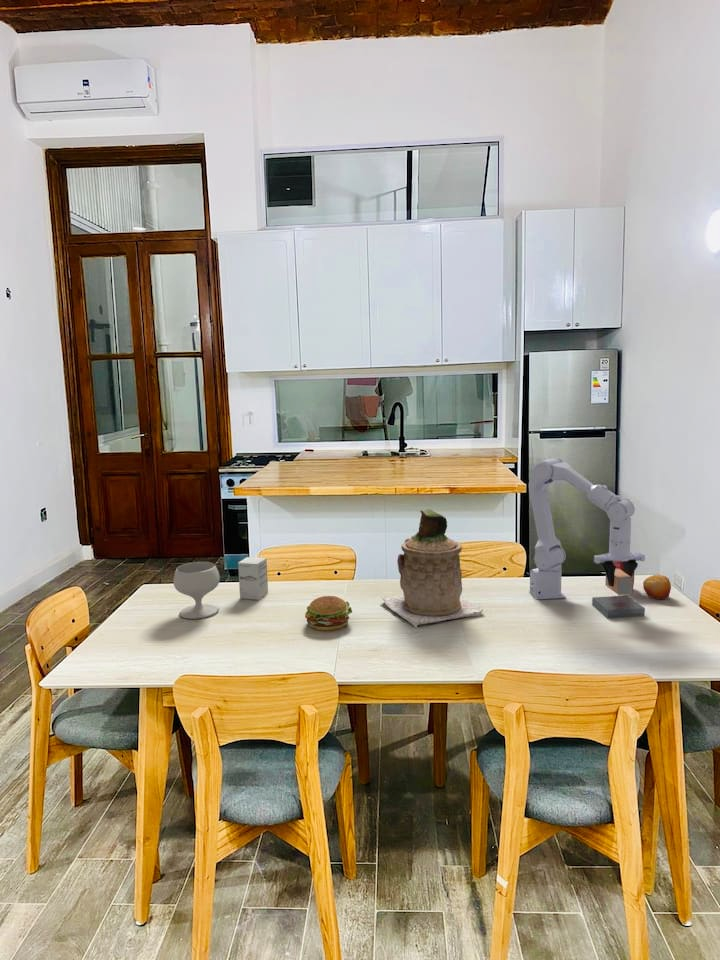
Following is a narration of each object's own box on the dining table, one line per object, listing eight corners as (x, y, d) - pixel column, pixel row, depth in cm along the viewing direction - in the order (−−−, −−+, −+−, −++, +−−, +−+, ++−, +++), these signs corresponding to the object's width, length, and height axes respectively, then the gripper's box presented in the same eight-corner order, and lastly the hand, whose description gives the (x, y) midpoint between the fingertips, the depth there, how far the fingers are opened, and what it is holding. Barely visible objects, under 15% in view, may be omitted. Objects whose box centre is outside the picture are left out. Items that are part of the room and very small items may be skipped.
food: (348, 634, 186) (347, 607, 185) (300, 631, 189) (299, 605, 187) (358, 616, 199) (357, 591, 198) (313, 614, 202) (312, 589, 201)
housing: (605, 585, 199) (605, 569, 198) (618, 584, 199) (618, 568, 199) (618, 595, 191) (619, 578, 190) (631, 594, 191) (632, 577, 190)
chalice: (195, 624, 197) (192, 576, 194) (167, 615, 205) (163, 569, 203) (231, 610, 208) (228, 564, 205) (202, 602, 216) (199, 558, 214)
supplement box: (239, 599, 218) (236, 562, 216) (249, 591, 225) (247, 556, 223) (259, 600, 216) (257, 563, 214) (269, 593, 223) (267, 557, 221)
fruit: (681, 593, 205) (672, 574, 202) (664, 609, 203) (655, 590, 200) (661, 586, 212) (652, 567, 209) (644, 601, 210) (635, 582, 208)
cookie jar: (486, 615, 196) (486, 510, 191) (413, 629, 187) (410, 520, 182) (445, 591, 219) (444, 497, 214) (378, 602, 210) (375, 505, 205)
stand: (607, 618, 190) (607, 610, 190) (592, 605, 201) (592, 597, 201) (644, 616, 191) (644, 608, 191) (627, 603, 202) (627, 595, 201)
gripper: (601, 545, 188) (600, 590, 191) (650, 542, 189) (648, 588, 191) (591, 539, 195) (590, 583, 197) (638, 536, 196) (637, 580, 198)
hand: (618, 585), depth 195 cm, fingers closed on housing, 4 cm apart
